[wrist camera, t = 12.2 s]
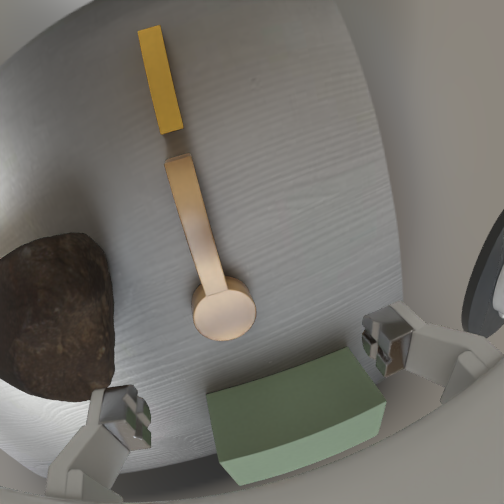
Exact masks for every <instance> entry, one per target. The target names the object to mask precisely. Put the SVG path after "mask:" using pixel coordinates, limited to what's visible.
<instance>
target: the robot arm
mask: <svg viewBox="0 0 504 504" xmlns="http://www.w3.org/2000/svg"><path fill="white" fill-rule="evenodd" d="M493 308H494V309H495V310H497V311H498V312H499V316H500V317H501V318H504V265H503V267H502V270H501V272H500V275H499V278H498V280H497V283H496V287H495V291H494V295H493ZM362 325H363V326H364V327H365V330H364V332H363V333H362V343H363V347H364V349H365V351H366V353H367V354H368V356H369V357H370V358H373V359H375V360H376V367H377V368H378V369H379V371H380V372H381V373H382V375H383V376H384V377H385V378H386V377H388V376H390V375H392V374H394V373H396V372H398V371H400V370H402V369H404V368H405V370H407V371H409V372H411V373H414V374H416V375H418V376H420V377H422V378H425V379H427V380H429V381H431V382H434V383H436V384H438V385H440V386H442V387H445V390H444V392H443V395H442V396H441V399H440V402H441V404H442V406H440V407H438V408H437V409H435V410H434V411H432V412H431V413H429V414H427V415H426V416H424V417H423V418H421V419H419V420H418V421H416V422H414V423H412V424H411V425H409V426H407V427H406V428H404V429H402V430H400V431H398V432H396V433H395V434H393V435H391V436H389V437H387V438H385V439H383V440H381V441H379V442H377V443H375V444H373V445H371V446H369V447H367V448H365V449H362V450H360V451H358V452H356V453H353V454H351V455H349V456H346V457H344V458H342V459H339V460H337V461H334V462H332V463H329V464H327V465H324V466H321V467H319V468H316V469H313V470H311V471H308V472H305V473H302V474H298V475H295V476H292V477H289V478H286V479H282V480H279V481H275V482H272V483H268V484H265V485H260V486H257V487H252V488H248V489H243V490H239V491H234V492H229V493H224V494H218V495H212V496H205V497H198V498H191V499H183V500H172V501H158V502H136V503H135V502H134V503H133V502H132V503H123V498H122V497H121V496H120V495H118V494H116V493H115V492H113V491H112V490H110V489H111V487H112V485H113V483H114V482H115V480H116V478H117V476H118V474H119V472H120V470H121V469H122V467H123V465H124V463H125V461H126V459H127V458H128V456H129V454H130V451H134V450H141V449H148V448H151V432H150V431H149V430H148V429H147V428H148V426H149V425H150V423H151V414H150V410H149V407H148V405H147V403H146V401H145V400H144V399H143V398H141V397H139V396H137V394H138V390H137V389H136V388H135V387H134V385H123V386H117V387H109V388H104V389H96V390H94V391H93V392H92V395H91V400H90V405H89V410H88V416H87V421H86V426H82V427H81V428H80V429H79V431H78V432H77V433H76V434H75V436H74V437H73V438H72V439H71V440H70V442H69V443H68V444H67V445H66V446H65V448H64V449H63V450H62V451H61V453H60V454H59V455H58V456H57V457H56V459H55V460H54V461H53V462H52V464H51V465H50V466H49V469H48V475H47V482H46V489H45V496H43V495H37V494H31V493H27V492H22V491H18V490H14V489H10V488H6V487H2V486H0V504H504V354H502V353H501V352H500V351H499V350H498V349H497V348H496V347H495V346H494V345H493V344H492V343H490V341H488V340H487V339H486V338H485V337H484V336H480V335H476V334H472V333H468V332H464V331H460V330H456V329H451V328H448V327H444V326H440V325H436V324H433V323H429V324H426V323H425V322H424V321H423V320H422V319H421V318H420V317H419V316H417V314H415V313H414V312H413V311H412V310H411V309H410V308H409V307H408V306H407V305H406V304H404V303H403V302H402V301H397V302H395V303H392V304H390V305H388V306H386V307H383V308H381V309H379V310H377V311H374V312H372V313H369V314H367V315H365V316H364V317H363V321H362Z"/></svg>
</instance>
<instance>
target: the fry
mask: <svg viewBox="0 0 504 504" xmlns="http://www.w3.org/2000/svg"><path fill="white" fill-rule="evenodd" d="M138 37H139V42H140V47H141V52H142V57H143V62H144V66H145V71H146V75H147V80H148V84H149V89H150V93H151V97H152V101H153V105H154V110H155V114H156V118H157V122H158V126H159V130H160V134H161V135H162V134H166V133H169V132H173V131H176V130H180V129H183V128H184V127H183V122H182V118H181V114H180V110H179V106H178V102H177V98H176V93H175V89H174V85H173V81H172V76H171V72H170V68H169V63H168V59H167V54H166V50H165V45H164V40H163V36H162V31H161V26H160V25H158V26H154V27H150V28H147V29H143V30H140V31H138Z"/></svg>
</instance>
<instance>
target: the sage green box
mask: <svg viewBox="0 0 504 504" xmlns="http://www.w3.org/2000/svg"><path fill="white" fill-rule="evenodd" d="M206 398H207V403H208V409H209V414H210V420H211V425H212V430H213V435H214V440H215V445H216V450H217V454H218V459H219V463H220V464H221V465H222V466H223V467H224V469H225V470H226V471H227V472H228V473H229V474H230V475H231V477H232V478H233V479H234V480H235V481H236V482H237V483H238V484H239V485H245V484H248V483H252V482H256V481H260V480H264V479H267V478H271V477H274V476H277V475H281V474H284V473H287V472H290V471H293V470H296V469H299V468H302V467H304V466H307V465H310V464H313V463H315V462H318V461H320V460H323V459H325V458H328V457H330V456H333V455H335V454H338V453H340V452H342V451H345V450H346V449H349V448H351V447H353V446H356V445H358V444H360V443H362V442H364V441H366V440H368V439H370V438H372V437H374V436H376V435H378V432H379V428H380V425H381V421H382V417H383V414H384V409H385V406H386V402H387V401H386V399H385V398H384V396H383V395H382V394H381V392H380V391H379V390H378V388H377V387H376V385H375V384H374V383H373V381H372V380H371V378H370V377H369V376H368V374H367V373H366V372H365V370H364V369H363V367H362V366H361V365H360V363H359V362H358V361H357V359H356V358H355V357H354V355H353V354H352V352H351V351H350V350H349V348H348V347H345V348H343V349H340V350H338V351H336V352H333V353H331V354H328V355H326V356H323V357H321V358H318V359H315V360H313V361H310V362H307V363H305V364H302V365H299V366H297V367H294V368H291V369H288V370H285V371H282V372H279V373H277V374H274V375H271V376H268V377H264V378H261V379H258V380H255V381H252V382H249V383H245V384H242V385H239V386H235V387H232V388H228V389H225V390H221V391H217V392H213V393H210V394H206Z"/></svg>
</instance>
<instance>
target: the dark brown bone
mask: <svg viewBox="0 0 504 504" xmlns="http://www.w3.org/2000/svg"><path fill="white" fill-rule="evenodd" d="M113 314H114V299H113V291H112V282H111V278H110V274H109V272H108V265H107V260H106V257H105V254H104V252H103V251H102V249H101V248H100V247H99V246H98V244H97V243H96V242H94V241H93V240H92V239H91V238H90V237H89V236H87V235H86V234H84V233H67V234H60V235H55V236H52V237H44V238H40V239H37V240H34V241H32V242H30V243H27V244H24V245H22V246H20V247H18V248H17V249H15V250H13V251H12V252H10V253H9V254H7V255H6V256H4V257H3V258H2V259H0V379H2V380H4V381H5V382H7V383H9V384H10V385H12V386H14V387H15V388H17V389H19V390H21V391H23V392H25V393H27V394H30V395H34V396H38V397H41V398H45V399H51V400H59V401H67V402H82V401H87V400H91V395H92V392H93V391H94V390H96V389H104V388H107V387H108V386H109V385H110V384H111V381H112V378H113V375H114V372H115V365H114V346H115V331H114V319H113Z"/></svg>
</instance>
